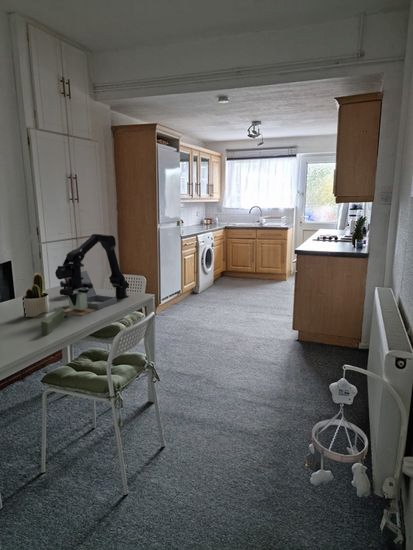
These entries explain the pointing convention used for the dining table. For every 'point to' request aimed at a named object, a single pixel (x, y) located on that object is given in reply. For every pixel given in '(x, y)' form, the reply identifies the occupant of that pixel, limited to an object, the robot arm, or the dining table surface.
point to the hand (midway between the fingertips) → (78, 304)
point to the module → (79, 301)
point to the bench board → (79, 311)
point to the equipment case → (92, 295)
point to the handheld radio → (53, 321)
